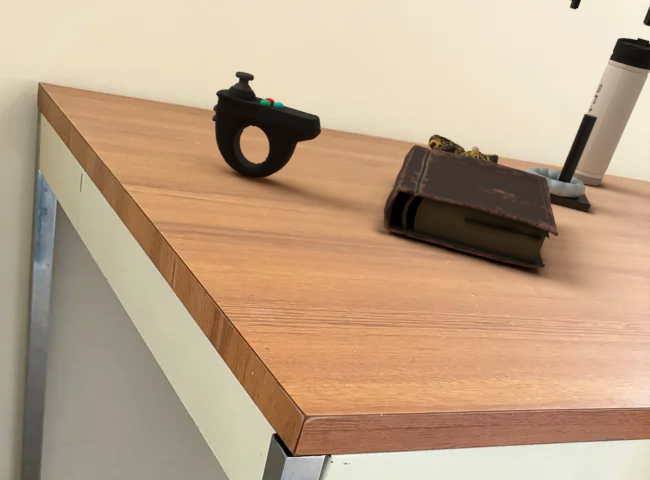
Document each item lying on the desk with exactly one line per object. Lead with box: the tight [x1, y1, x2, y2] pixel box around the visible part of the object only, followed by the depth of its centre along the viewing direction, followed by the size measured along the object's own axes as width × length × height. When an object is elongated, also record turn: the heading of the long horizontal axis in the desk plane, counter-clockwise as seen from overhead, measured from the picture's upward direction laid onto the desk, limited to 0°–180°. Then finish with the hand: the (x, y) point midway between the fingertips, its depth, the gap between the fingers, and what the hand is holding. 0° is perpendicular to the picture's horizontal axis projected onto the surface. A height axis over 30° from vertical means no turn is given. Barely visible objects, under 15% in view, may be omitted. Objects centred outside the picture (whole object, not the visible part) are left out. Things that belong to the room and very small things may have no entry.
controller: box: [211, 71, 322, 179], centre depth 93 cm, size 4×12×10 cm, turn 71°
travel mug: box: [573, 37, 650, 187], centre depth 128 cm, size 6×7×20 cm
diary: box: [383, 144, 559, 269], centre depth 96 cm, size 19×25×5 cm
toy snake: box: [427, 134, 499, 164], centre depth 120 cm, size 18×5×10 cm
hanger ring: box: [524, 166, 586, 198], centre depth 118 cm, size 9×9×2 cm
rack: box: [550, 113, 597, 213], centre depth 116 cm, size 8×8×11 cm
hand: (610, 16), depth 106 cm, fingers open, 9 cm apart
